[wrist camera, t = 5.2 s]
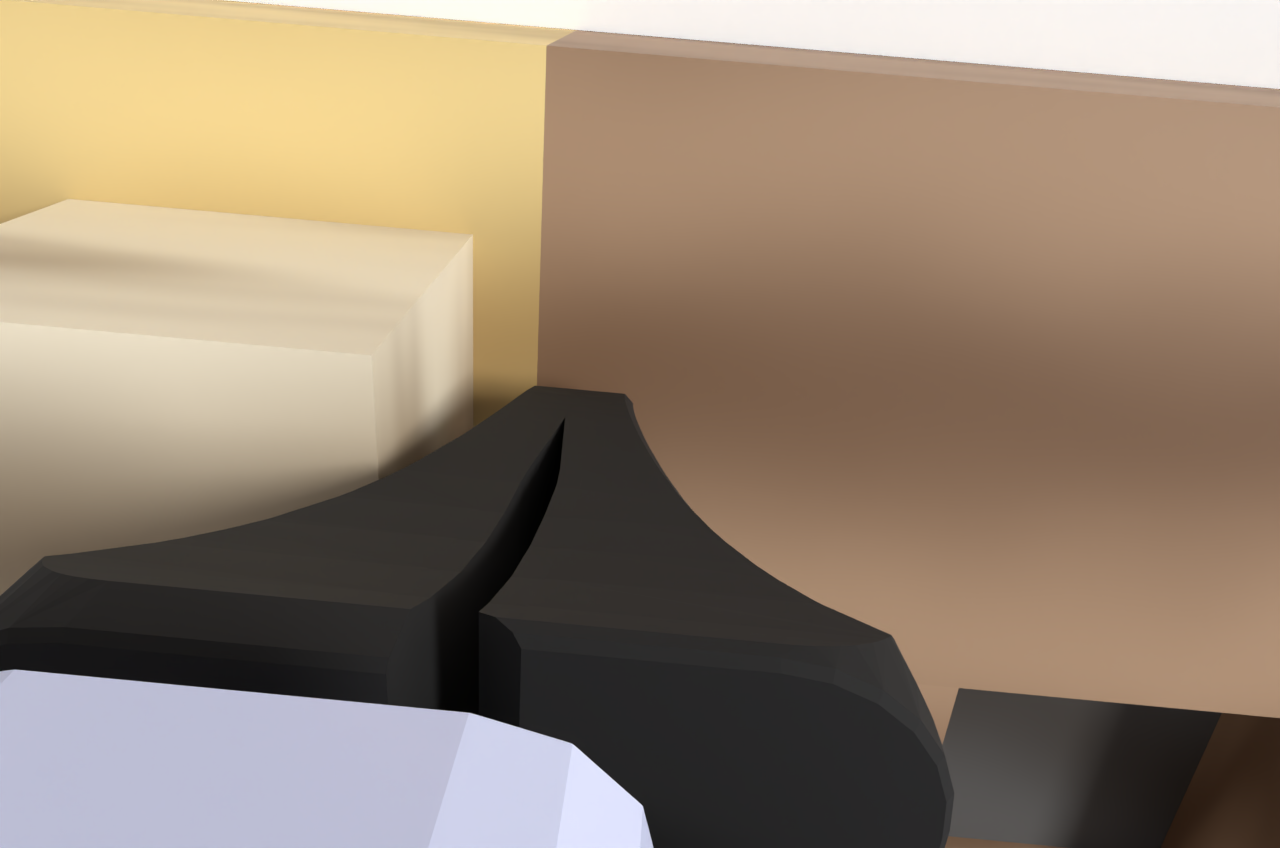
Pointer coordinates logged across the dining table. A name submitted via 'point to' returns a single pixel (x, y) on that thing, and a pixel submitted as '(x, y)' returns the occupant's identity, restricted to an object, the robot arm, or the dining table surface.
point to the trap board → (817, 335)
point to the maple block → (215, 369)
